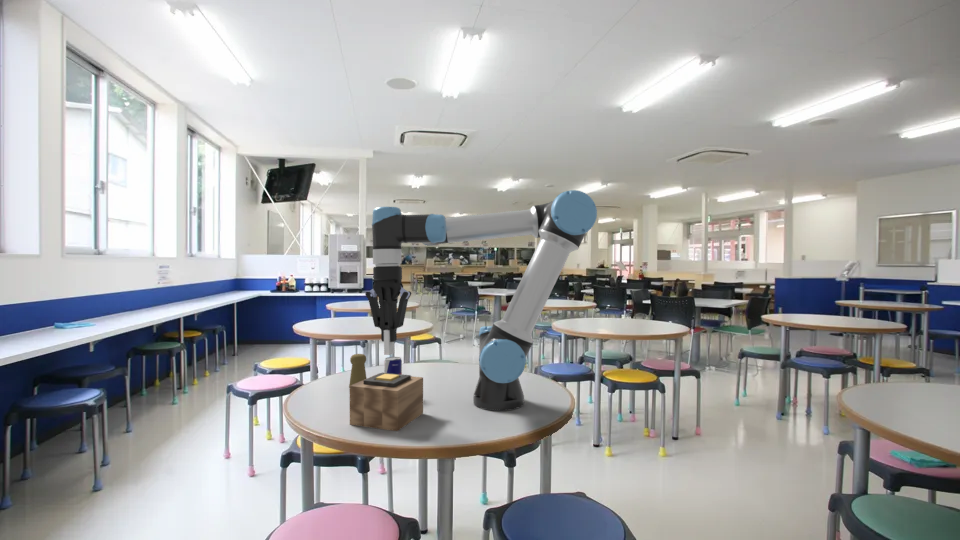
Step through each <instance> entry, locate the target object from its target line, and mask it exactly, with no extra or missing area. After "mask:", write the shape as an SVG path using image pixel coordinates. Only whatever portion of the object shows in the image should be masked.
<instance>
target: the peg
mask: <svg viewBox="0 0 960 540" xmlns="http://www.w3.org/2000/svg"><path fill="white" fill-rule="evenodd" d="M397 378H399V375H393V374H383V375H381V376H378V377H376V380H384V381H393V380H395V379H397Z"/></svg>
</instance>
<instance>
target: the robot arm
mask: <svg viewBox="0 0 960 540" xmlns="http://www.w3.org/2000/svg"><path fill="white" fill-rule="evenodd" d="M597 218H598V208H597V206H596V203H595V201H594V200H593V198H592V197H591V196H590V195H589V194H587V193H586V192H584V191H581V190H576V189H571V190H566V191H563V192H561V193H559V194H558V195H556V197H555V198H554V199H553V200H551V201H549V202H545V203H543V204H536V205H532V206H531V207H530V208H529V209H522V210H512V211H511V210H510V211H501V212H500V211H499V212H491V213H482V214H472V215H469V214H468V215H460V216H452V217H451V216H449V217H446V216H445V215H444V214H438V213H436V214H434V213H430V214H403V213H402V212H401V209H400V207H397V206H377V207H375V208H374V209H373V210H372V218H371V219H372V220H371V221H372V222H371V231H372V232H371V233H372V264H373V265H374V266H373V268H372V269H373V270H372V271H373V272H372V275H373V276H372V277H373V280H374V282H373V286H372V289H370V290H369V291H366V292H365V294H364V295H365V297H366V298H367V300H368V304H369V308H370V312H371V317H372V321H373V325H374V327H375V328H378V329H380V331H381V332H380V335H381V336H380V338H381V340H380V341H382V342H383V353H384V355H386V356H389V355H390V356H391V355H392V354H395V342H397V338H398V337H397V330H398V328H401V327H403V326H404V322H405V317H406V313H407V309H408V307H407V306H408V302H409V299H410V297H411V296H412V291H410V290H409V291H408V290H406V289H405V288H404V285H403V282H402V280H403V267H402V266H400V265H402V243H403V244H410V243H411V244H415V243H417V244H423V245H425V246H436V245H442V244H443V245H445V244H451V243H460V242H461V243H463V242H470V241H473V242H474V241H481V240H495V239H502V238H503V239H504V238H513V237H522V236H532V237H534V238H535V239H537V238H538V239H539V238H540V239H539V242H538V243H537V246H536V248H535V250H534V252H533V255H532V256H531V259H530V261H529V263H528V265H527V267H526V269H525V271H524V273H523V275H522V278H521V280H520V281H519V284H518V285H517V287H516V290H515V292H514V294H513V296H512V297H511V300H510V303H509V304H508V306H507V308H506V310H505V313H504V314H503V317H502V318H501V319H500V320H497V321H494V322H493V325H487V326H485V325H484V326H481V327H480V328H479V333H478V338H479V340H478V342H479V343H478V345H479V346H478V347H479V349H478V350H479V353H478V354H479V356H478V362H479V363H478V365H479V368H478V369H479V370H478V371H479V372H478V373H479V375H478V376H479V377H478V380H477V383H476V387H475V390H474V392H473V404H474V406H476V407H477V408H479V409H483V410H488V411H511V410H516V409H519V408H522V407H524V404H525V395H524V391H523V389H522V385H521V383H520V377H521V375H522V374H523V372H524V371H525V369H526V365H527V363H526V362H527V356H528V355H529V353H530V350H531V348H532V346H533V344H534V339H533V335H532V332H533V330H534V328H535V327H536V324H537V322H538V320H539V317H540V316H541V314H542V312H543V310H544V308H545V305H546V304H547V301H548V299H549V297H550V295H551V294H552V291H553V289H554V286H555V285H556V283H557V281H558V279H559V277H560V275H561V272H562V270H563V268H564V266H565V264H566V263H567V260H568V258H569V256H570V254H571V253H572V252H575V251H577V250H579V249H580V247H581V245H582V242H583V240H584V238H585V236H586V234H587V233H588V232H589V231H590V230H591V229H592V228H593V227H594V225H595V223H596V220H597ZM399 297H400V298H399ZM398 298H399V299H398Z"/></svg>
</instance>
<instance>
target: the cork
mask: <svg viewBox="0 0 960 540" xmlns="http://www.w3.org/2000/svg"><path fill="white" fill-rule="evenodd" d="M349 361H350V364H351V370H350V378H349V384H348V385H349V386H348V388H349V389H350V386H351V385H353V384H355V383H358V382H360V381H362V380H365V379H367V378H368V377H367V372H366V363H367V362H366V361H367V356H366V355H365V354H364V353H355V354H352V355H351V356H350V359H349Z"/></svg>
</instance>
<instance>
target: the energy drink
mask: <svg viewBox="0 0 960 540" xmlns="http://www.w3.org/2000/svg"><path fill="white" fill-rule="evenodd" d="M383 364H384V368H383V370H384V372H383V373H392V374H403V372H402V371H403V367H402V365H403V360H402V357H401V356H387V357H385V358H384V361H383Z"/></svg>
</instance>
